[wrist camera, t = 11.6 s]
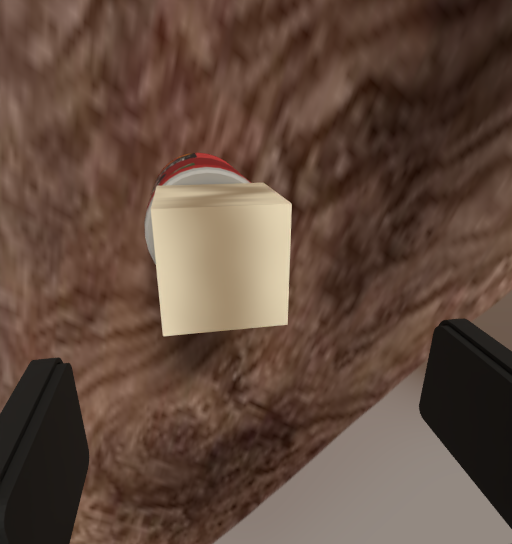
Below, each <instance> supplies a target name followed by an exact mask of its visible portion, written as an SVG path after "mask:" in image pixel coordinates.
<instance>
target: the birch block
mask: <svg viewBox="0 0 512 544" xmlns="http://www.w3.org/2000/svg"><path fill="white" fill-rule="evenodd" d="M291 211H292V204H291V203H290V202H289V201H287V200H286V199H285V198H283V197H282V196H281V195H279V194H278V193H277V192H275V191H274V190H273V189H271V188H270V187H268V186H267V185H266V184H264V183H235V184H200V185H165V186H156V190H155V194H154V198H153V202H152V206H151V218H152V228H153V239H154V249H155V259H156V269H157V280H158V290H159V300H160V310H161V320H162V331H163V336H172V335H183V334H193V333H204V332H214V331H225V330H235V329H246V328H256V327H267V326H278V325H287V324H288V295H289V267H290V239H291Z"/></svg>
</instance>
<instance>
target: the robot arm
mask: <svg viewBox="0 0 512 544" xmlns="http://www.w3.org/2000/svg"><path fill="white" fill-rule="evenodd" d="M419 410H420V414H421V416H422V418H423V419H424V421H425V422H426V423H427V424H428V426H429V427H430V428H431V429H432V431H433V432H434V433H435V434H436V435H437V437H438V438H439V439H440V441H441V442H442V443H443V444H444V446H445V447H446V448H447V449H448V450H449V452H450V453H451V454H452V455H453V457H454V458H455V459H456V460H457V462H458V463H459V464H460V465H461V467H462V468H463V469H464V470H465V472H466V473H467V474H468V475H469V476H470V478H471V479H472V480H473V481H474V483H475V484H476V485H477V486H478V488H479V489H480V490H481V492H482V493H483V494H484V495H485V496H486V498H487V499H488V500H489V501H490V503H491V504H492V505H493V506H494V508H495V509H496V510H497V511H498V512H499V514H500V515H501V516H502V517H503V519H504V520H505V521H506V523H507V524H508V525H509V526H510V528H511V529H512V351H510V350H509V349H508V348H506V347H505V346H503V345H502V344H500V343H499V342H498V341H496V340H495V339H493V338H492V337H490V336H489V335H488V334H486V333H485V332H484V331H482V330H481V329H480V328H478V327H476V326H475V325H474V324H473V323H471V322H470V321H468V320H466V319H452V320H444V321H442V322H441V323H440V324H439V326H438V327H436V328H435V330H434V333H433V338H432V343H431V348H430V353H429V358H428V363H427V369H426V373H425V379H424V384H423V388H422V393H421V399H420V404H419ZM88 465H89V449H88V444H87V439H86V434H85V429H84V425H83V420H82V415H81V410H80V405H79V400H78V395H77V391H76V386H75V381H74V376H73V371H72V367H71V365H70V363H63V362H62V360H61V358H49V359H39V360H33V361H31V362H30V364H29V365H28V367H27V369H26V371H25V372H24V374H23V376H22V377H21V379H20V381H19V383H18V384H17V386H16V388H15V389H14V391H13V393H12V395H11V396H10V398H9V400H8V402H7V403H6V405H5V407H4V408H3V410H2V412H1V414H0V544H69V543H70V539H71V535H72V531H73V527H74V523H75V518H76V514H77V510H78V506H79V502H80V498H81V494H82V490H83V486H84V482H85V478H86V474H87V470H88Z"/></svg>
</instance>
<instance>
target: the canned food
mask: <svg viewBox="0 0 512 544" xmlns="http://www.w3.org/2000/svg"><path fill="white" fill-rule="evenodd" d="M235 183H251V182H250V181H248V180H247V179H246V178H245V177H244V176H243V175H241V174H240V173H239V172H238V171H237V170H235V169H234V168H233V167H232V166H230V165H229V164H228V163H227V162H226V161H224V160H222V159H220V158H218V157H216V156H213V155H209V154H203V153H192V154H186V155H183V156H180V157H178V158H176V159H174V160H172V161H171V162H170V163H168V164H167V165H166V166H165V167H164V168H163V169H162V171H161V172H160V174H159V175H158V177H157V180H156V182H155V185H154V188H153V191H152V194H151V197H150V200H149V204H148V207H147V212H146V218H145V237H146V242H147V246H148V250H149V252H150V255H151V257H152V259H153V261H154V263H155V264H156V259H155V249H154V239H153V228H152V218H151V206H152V202H153V198H154V194H155V190H156V186H165V185H200V184H235Z"/></svg>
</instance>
